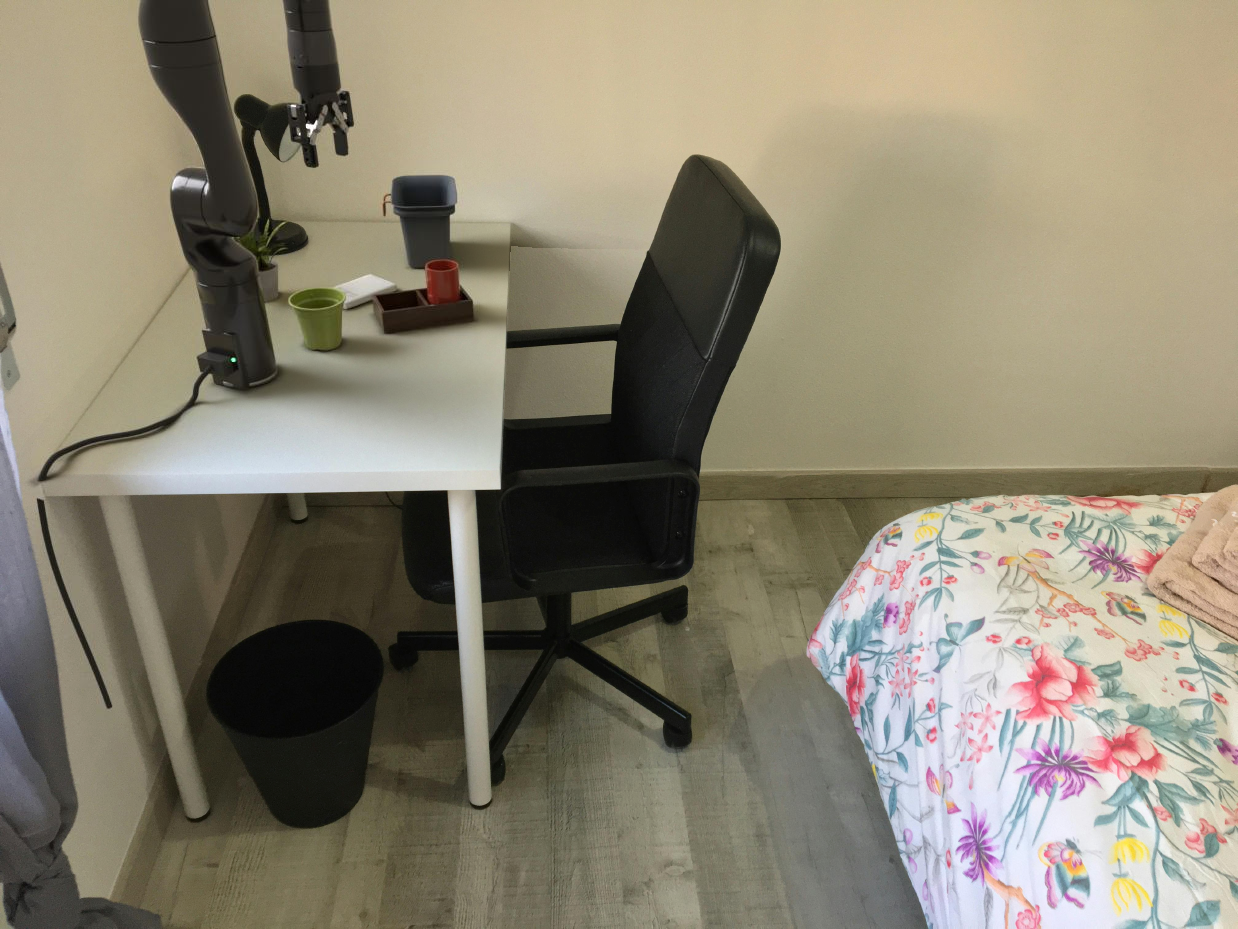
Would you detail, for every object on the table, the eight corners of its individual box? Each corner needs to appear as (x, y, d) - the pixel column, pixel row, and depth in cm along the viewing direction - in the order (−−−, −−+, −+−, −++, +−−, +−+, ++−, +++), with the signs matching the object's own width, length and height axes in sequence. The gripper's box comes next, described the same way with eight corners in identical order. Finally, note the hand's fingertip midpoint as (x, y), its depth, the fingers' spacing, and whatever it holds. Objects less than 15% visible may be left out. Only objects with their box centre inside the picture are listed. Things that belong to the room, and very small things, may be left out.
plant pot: (362, 344, 160) (356, 298, 155) (314, 360, 154) (307, 313, 149) (333, 328, 165) (326, 282, 160) (285, 343, 159) (277, 296, 154)
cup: (451, 319, 168) (448, 273, 163) (422, 314, 170) (419, 268, 165) (466, 307, 173) (464, 262, 168) (439, 302, 175) (435, 257, 170)
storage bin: (462, 271, 190) (458, 204, 183) (386, 274, 188) (379, 205, 180) (458, 237, 208) (454, 174, 200) (388, 239, 205) (382, 175, 197)
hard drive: (397, 291, 180) (346, 310, 172) (369, 281, 184) (319, 298, 176) (396, 283, 179) (345, 302, 171) (369, 273, 183) (318, 290, 175)
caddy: (474, 320, 170) (472, 300, 168) (384, 333, 164) (381, 312, 162) (460, 303, 177) (459, 283, 174) (374, 315, 170) (371, 294, 168)
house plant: (201, 304, 171) (182, 219, 162) (245, 278, 183) (229, 198, 174) (268, 315, 168) (252, 229, 160) (309, 288, 180) (296, 207, 171)
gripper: (321, 50, 153) (333, 148, 162) (265, 63, 142) (282, 168, 151) (359, 54, 151) (369, 154, 160) (306, 68, 140) (320, 174, 149)
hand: (327, 160), depth 156 cm, fingers open, 8 cm apart
